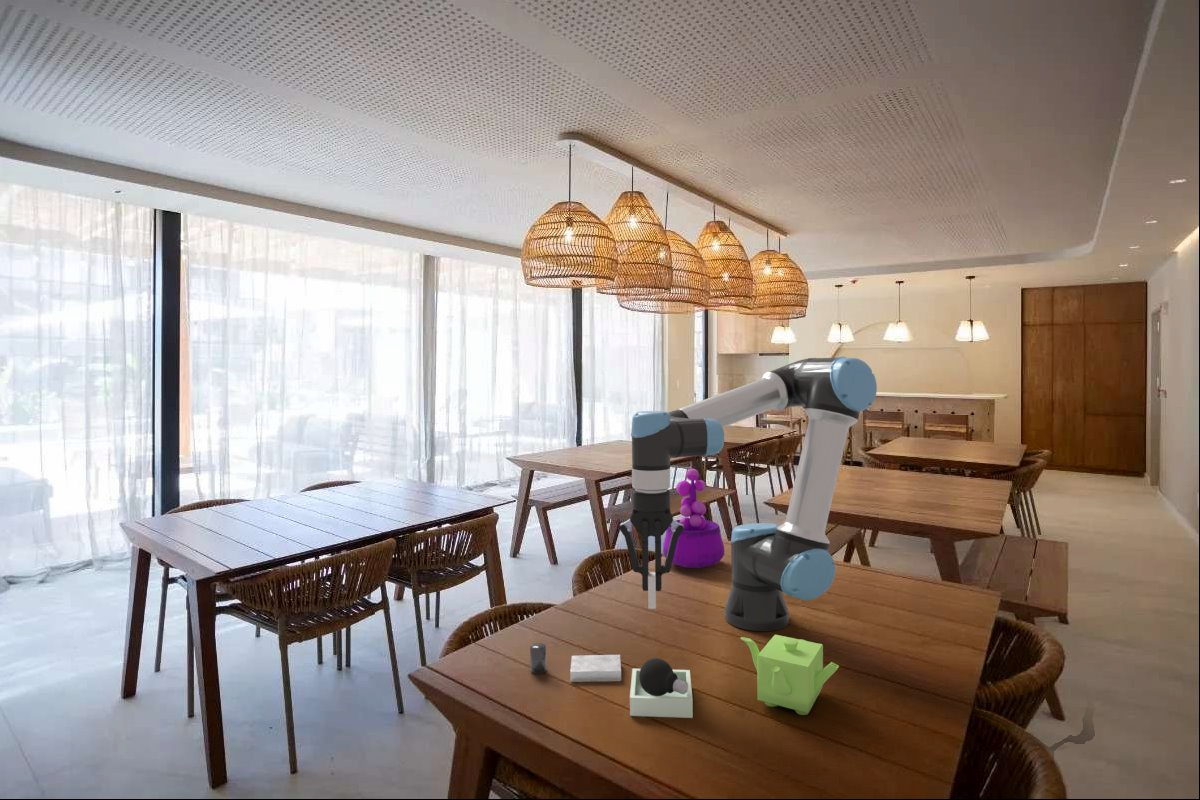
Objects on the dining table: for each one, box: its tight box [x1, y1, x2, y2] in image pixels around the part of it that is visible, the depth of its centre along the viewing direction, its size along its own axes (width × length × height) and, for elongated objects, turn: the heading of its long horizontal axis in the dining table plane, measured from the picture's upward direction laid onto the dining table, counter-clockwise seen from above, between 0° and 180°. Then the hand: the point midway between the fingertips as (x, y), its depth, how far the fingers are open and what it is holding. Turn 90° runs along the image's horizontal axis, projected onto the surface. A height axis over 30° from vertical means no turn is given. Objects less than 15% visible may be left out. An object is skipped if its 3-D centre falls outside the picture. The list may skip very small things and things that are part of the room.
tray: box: [629, 668, 694, 719], centre depth 119 cm, size 11×11×3 cm
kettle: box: [740, 634, 840, 716], centre depth 118 cm, size 15×14×11 cm
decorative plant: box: [662, 468, 725, 569], centre depth 198 cm, size 19×18×30 cm
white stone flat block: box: [569, 654, 622, 683], centre depth 130 cm, size 10×7×2 cm
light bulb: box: [639, 658, 688, 696], centre depth 117 cm, size 6×6×10 cm
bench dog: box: [529, 642, 547, 675], centre depth 132 cm, size 3×3×5 cm
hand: (652, 606), depth 129 cm, fingers closed
